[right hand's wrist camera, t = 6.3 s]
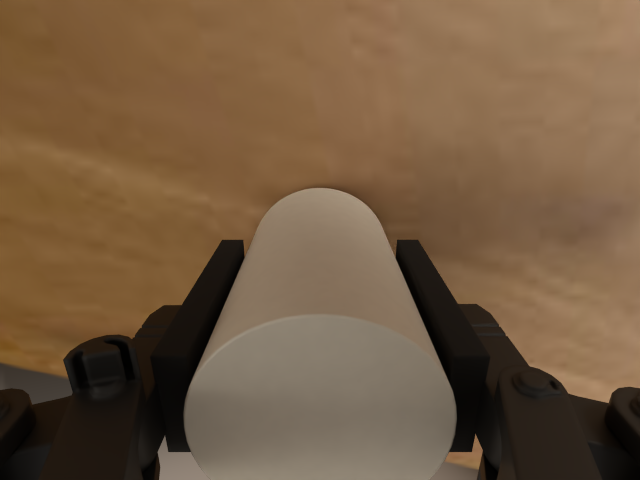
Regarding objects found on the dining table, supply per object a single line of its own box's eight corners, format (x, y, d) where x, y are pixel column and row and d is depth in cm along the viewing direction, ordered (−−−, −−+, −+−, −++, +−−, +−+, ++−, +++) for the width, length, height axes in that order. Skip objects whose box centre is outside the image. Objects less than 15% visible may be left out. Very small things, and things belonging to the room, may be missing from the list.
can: (317, 331, 18) (315, 554, 9) (226, 249, 16) (125, 427, 8) (413, 254, 17) (512, 436, 8) (323, 157, 15) (327, 255, 7)
